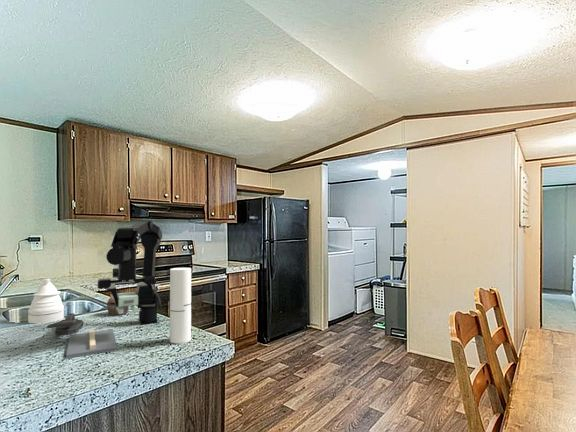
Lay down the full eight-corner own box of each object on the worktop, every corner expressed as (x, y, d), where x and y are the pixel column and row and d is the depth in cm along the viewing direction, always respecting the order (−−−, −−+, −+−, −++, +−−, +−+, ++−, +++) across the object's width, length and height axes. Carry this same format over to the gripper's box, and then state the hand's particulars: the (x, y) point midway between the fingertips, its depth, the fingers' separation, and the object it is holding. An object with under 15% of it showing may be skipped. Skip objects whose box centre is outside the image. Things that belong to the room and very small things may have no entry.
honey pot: (63, 320, 151) (64, 279, 152) (26, 325, 144) (27, 281, 145) (63, 314, 162) (64, 275, 163) (29, 318, 155) (30, 278, 156)
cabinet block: (134, 306, 131) (134, 291, 132) (138, 312, 122) (138, 296, 122) (116, 308, 128) (116, 293, 129) (119, 314, 119) (119, 298, 119)
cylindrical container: (194, 339, 123) (195, 268, 124) (176, 344, 118) (176, 270, 119) (184, 335, 128) (184, 267, 129) (165, 340, 123) (166, 268, 124)
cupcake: (132, 314, 163) (132, 292, 163) (110, 317, 156) (110, 295, 156) (125, 310, 170) (125, 289, 170) (103, 314, 163) (103, 292, 163)
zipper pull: (44, 325, 119) (59, 310, 142) (44, 345, 119) (59, 327, 142) (74, 322, 123) (84, 308, 146) (74, 342, 122) (84, 324, 145)
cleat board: (112, 331, 134) (112, 325, 134) (117, 350, 113) (117, 343, 113) (69, 337, 127) (69, 331, 127) (66, 358, 106) (66, 351, 106)
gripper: (150, 259, 138) (150, 299, 137) (97, 262, 129) (96, 304, 128) (156, 261, 129) (155, 304, 128) (98, 264, 119) (97, 310, 118)
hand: (126, 305), depth 126 cm, fingers closed on cabinet block, 6 cm apart
